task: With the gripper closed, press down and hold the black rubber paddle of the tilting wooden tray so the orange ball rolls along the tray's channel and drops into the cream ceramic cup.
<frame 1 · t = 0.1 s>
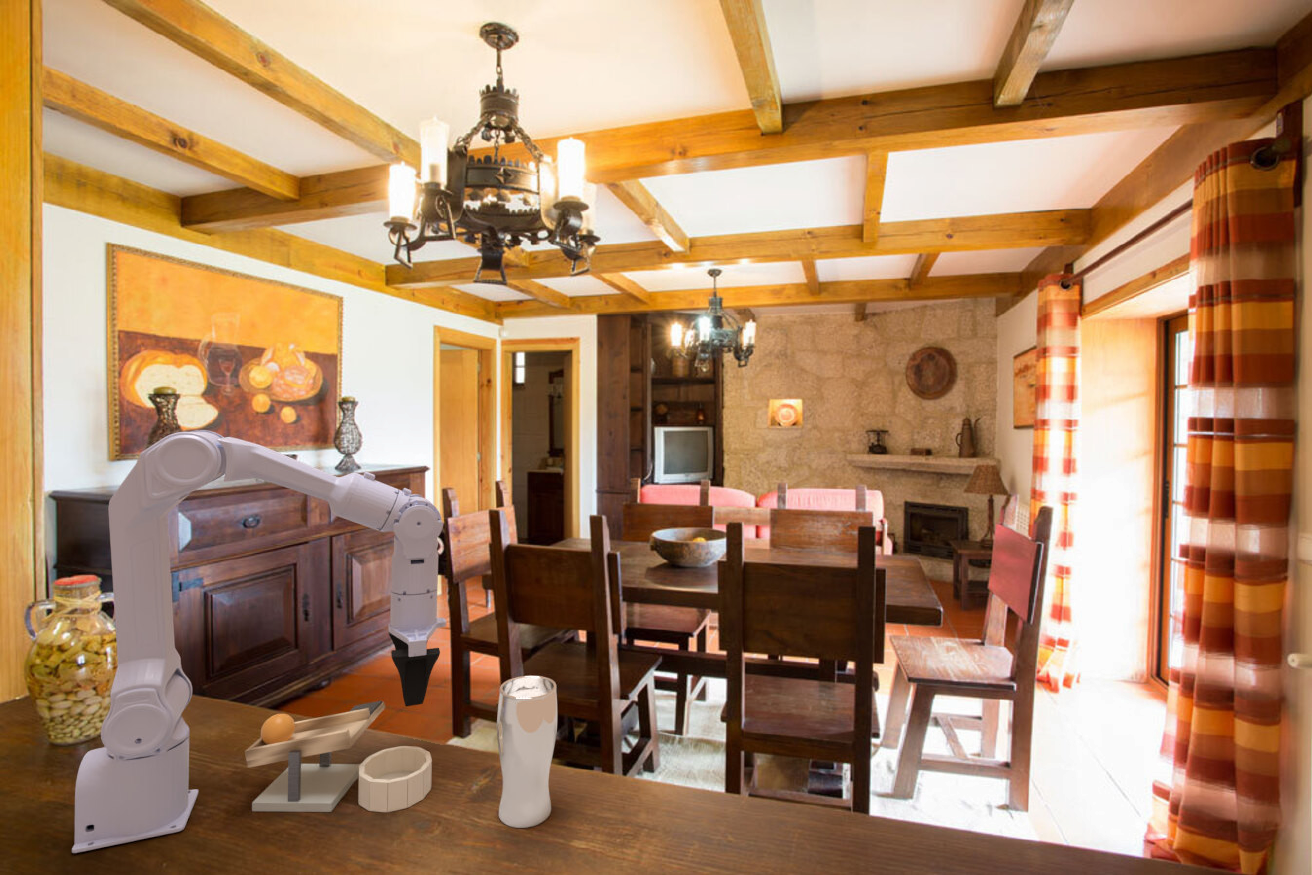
hand: (411, 691, 83), 10 cm above the table, tool pointing down, fingers open, 7 cm apart
beer glass: (525, 813, 74), on the table
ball: (278, 729, 77), point 7 cm above the table, tilted 9°, touching tilting wooden tray
tilting wooden tray: (319, 727, 79), point 7 cm above the table, hinge at -12.0°, touching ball
cup: (395, 791, 78), on the table
lever stand: (310, 790, 77), on the table
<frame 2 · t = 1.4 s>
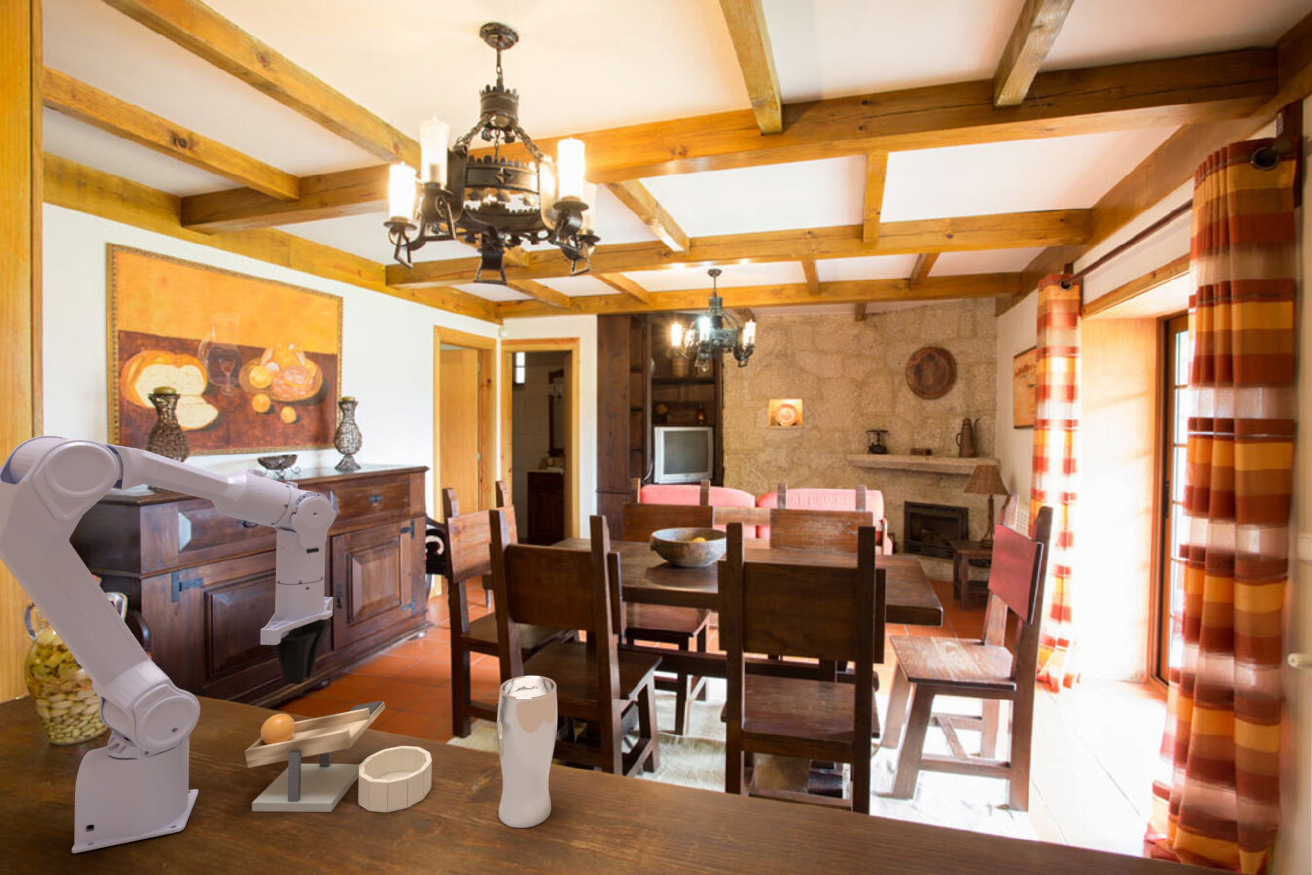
hand: (298, 679, 85), 10 cm above the table, tool pointing down, fingers closed
nothing on the table moved.
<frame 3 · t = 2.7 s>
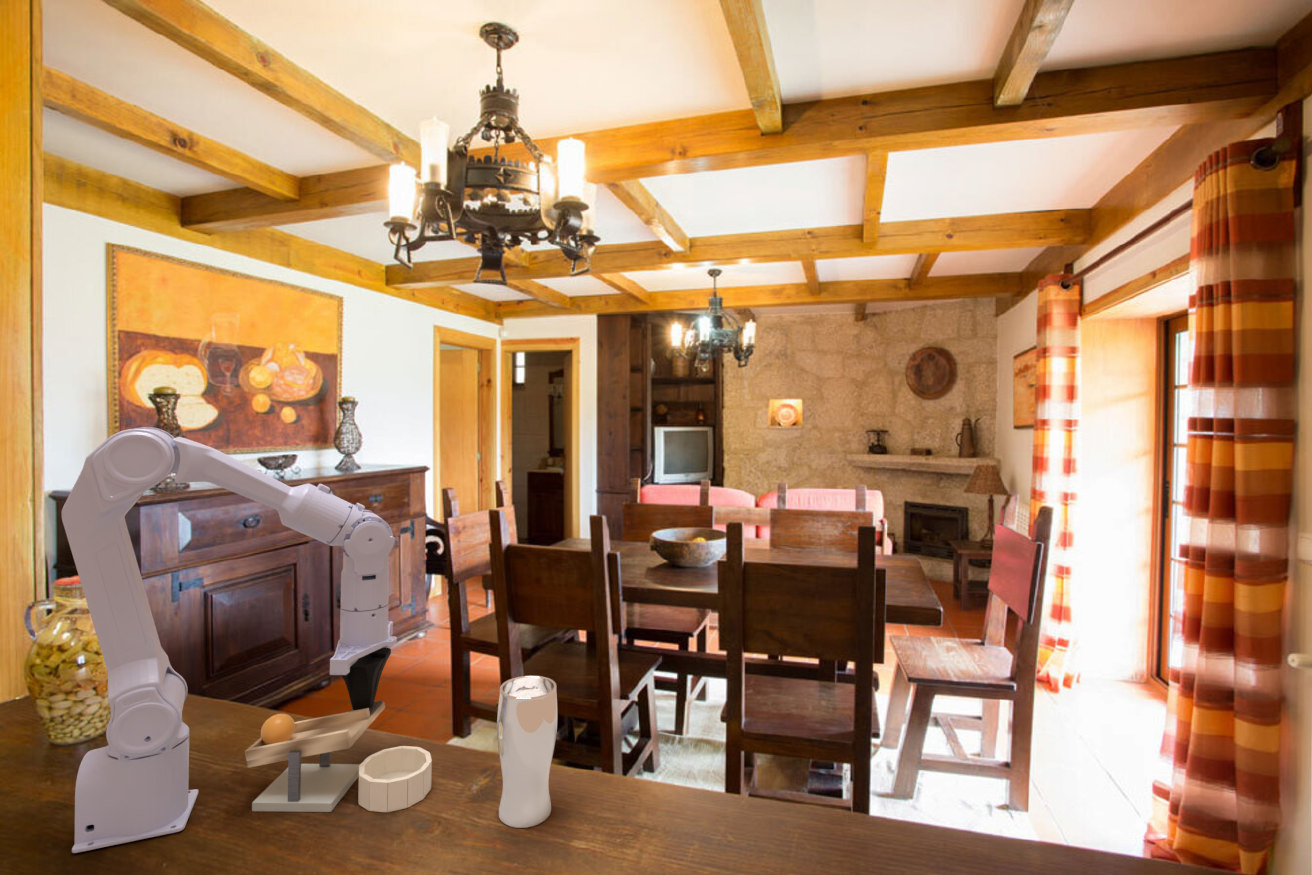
hand: (362, 707, 83), 8 cm above the table, tool pointing down, fingers closed, pressing on tilting wooden tray
tilting wooden tray: (319, 727, 79), point 7 cm above the table, hinge at -12.0°, touching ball, gripper
everything else where it was.
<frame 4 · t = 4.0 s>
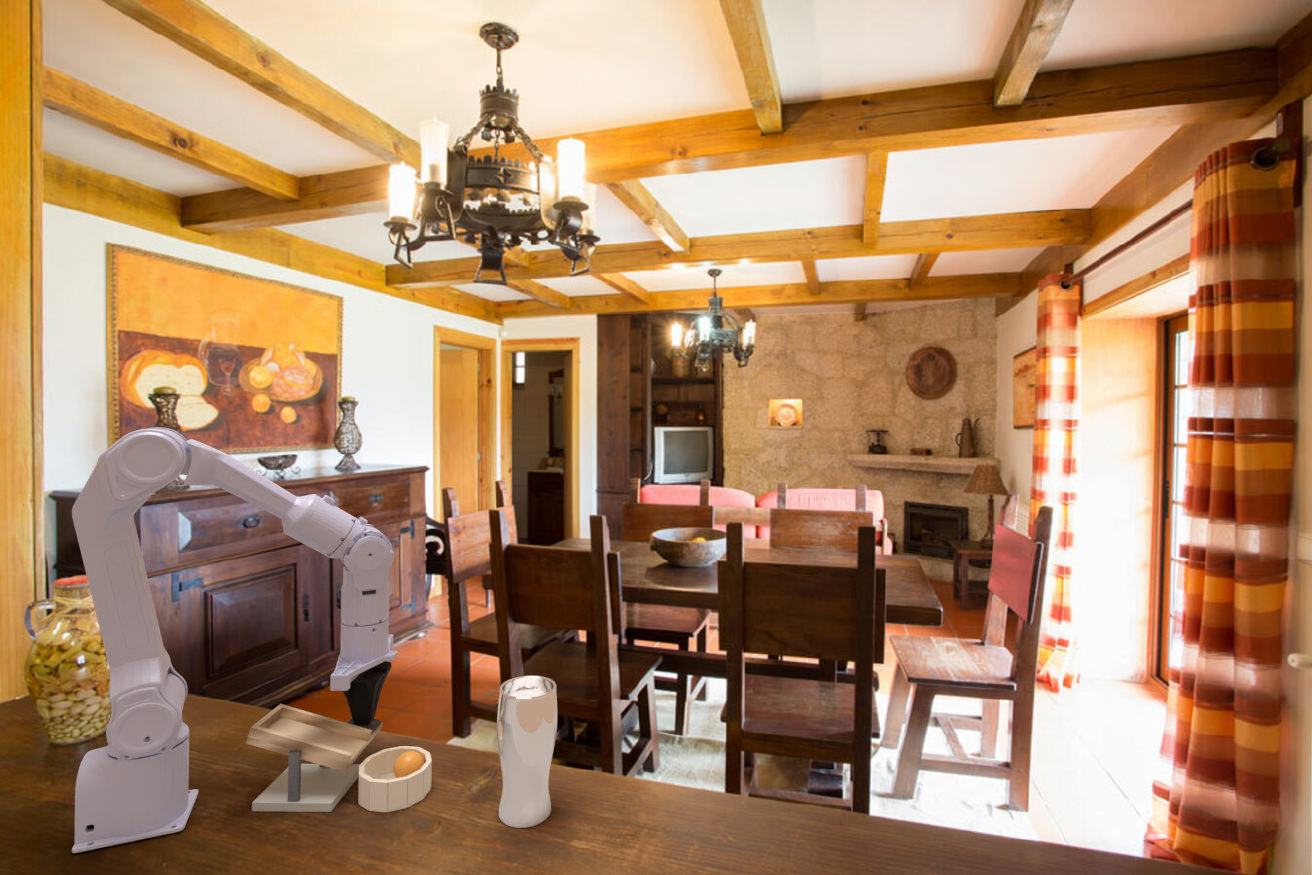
hand: (363, 722, 83), 6 cm above the table, tool pointing down, fingers closed, pressing on tilting wooden tray
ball: (408, 766, 79), point 2 cm above the table, tilted 141°, touching cup
tilting wooden tray: (320, 727, 79), point 7 cm above the table, hinge at 15.7°, touching gripper
everything else where it was.
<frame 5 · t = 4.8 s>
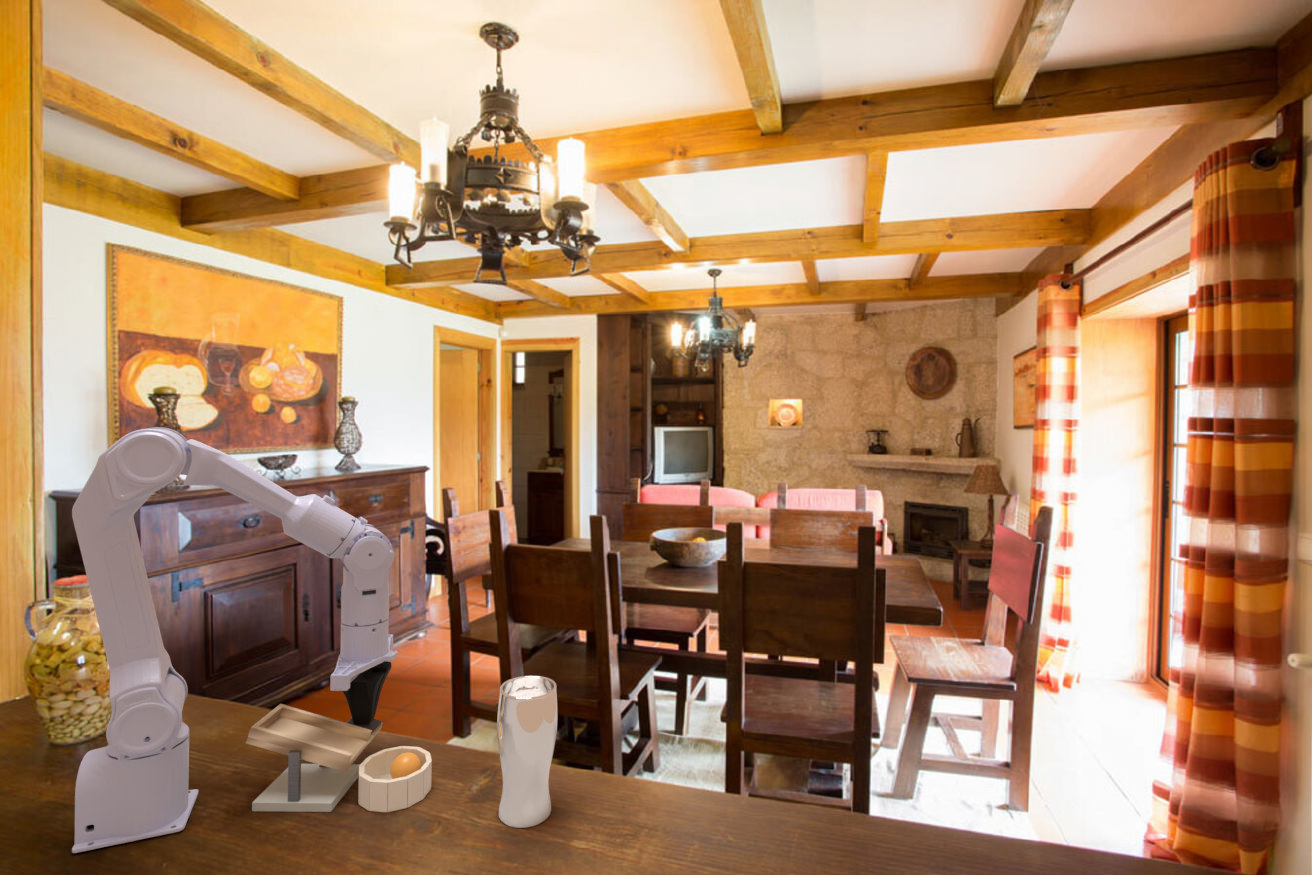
hand: (363, 722, 83), 6 cm above the table, tool pointing down, fingers closed, pressing on tilting wooden tray
tilting wooden tray: (320, 727, 79), point 7 cm above the table, hinge at 15.8°, touching gripper
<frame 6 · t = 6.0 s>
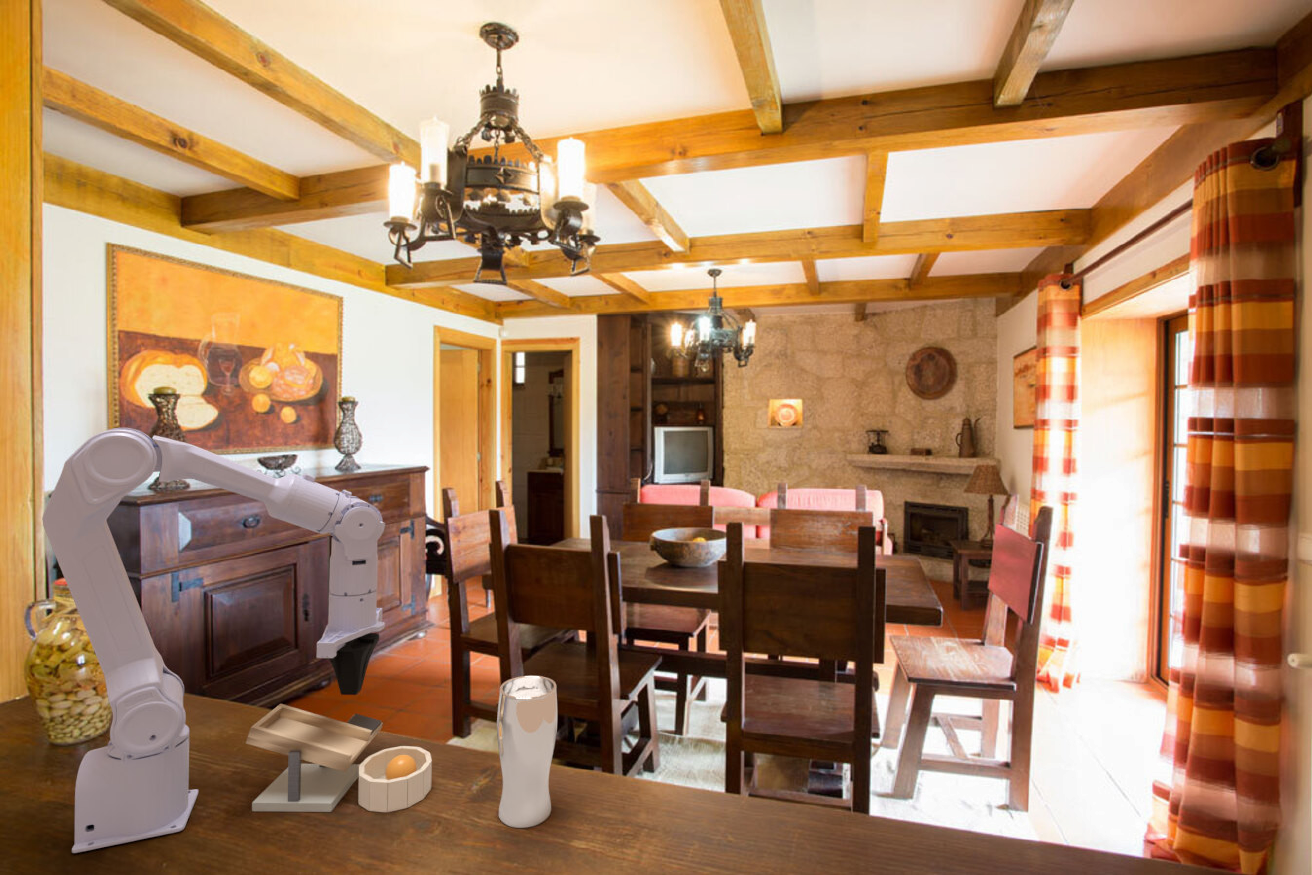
hand: (350, 692, 83), 10 cm above the table, tool pointing down, fingers closed
tilting wooden tray: (320, 727, 79), point 7 cm above the table, hinge at 15.8°
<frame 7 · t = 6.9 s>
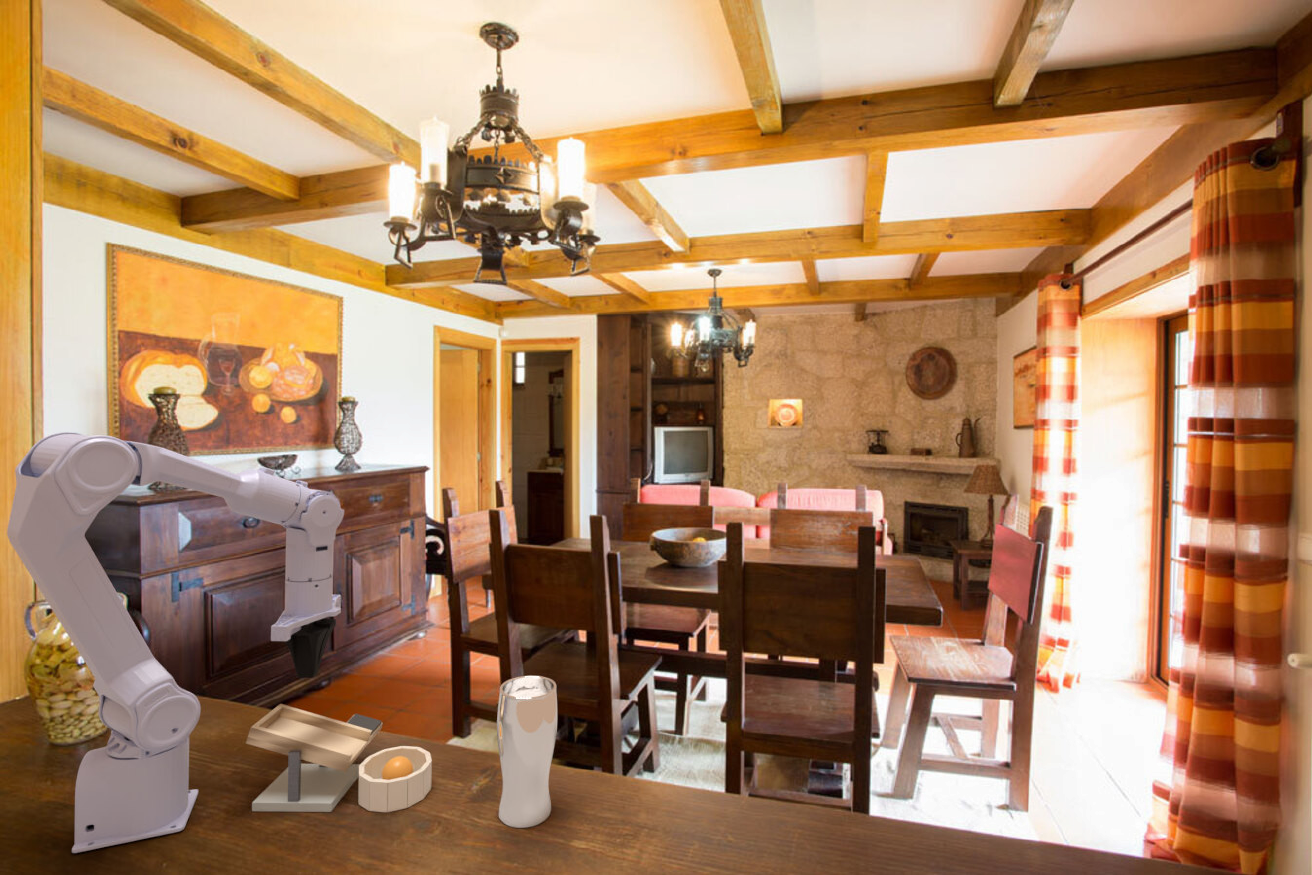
hand: (307, 675, 86), 10 cm above the table, tool pointing down, fingers closed
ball: (397, 772, 78), point 2 cm above the table, tilted 131°, touching cup
everything else where it was.
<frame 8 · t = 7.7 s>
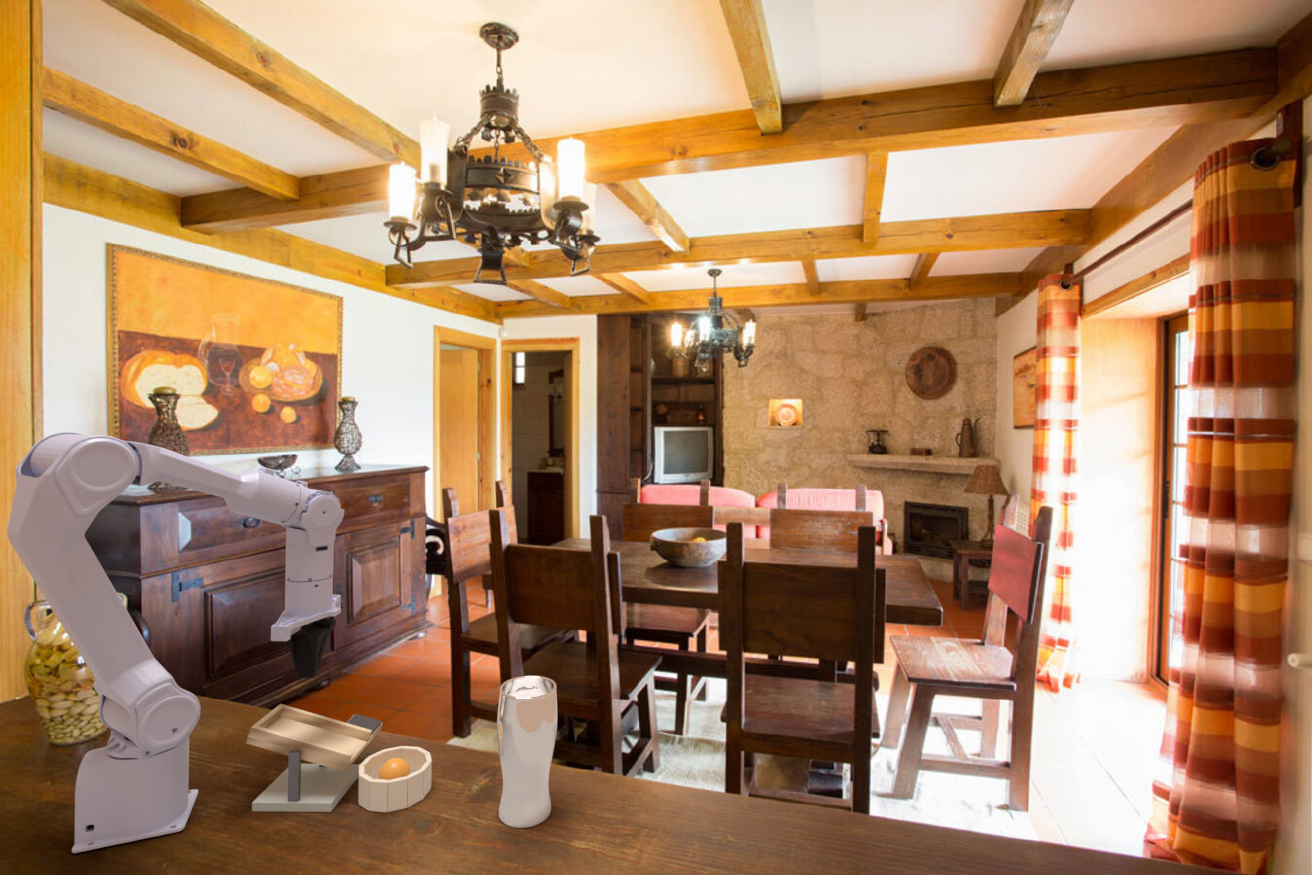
hand: (307, 675, 86), 10 cm above the table, tool pointing down, fingers closed
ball: (394, 774, 77), point 2 cm above the table, tilted 121°, touching cup
everything else where it was.
at the end: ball 0.4 cm off-centre on the cup, point 2.4 cm above the cup's base; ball moved 14.9 cm from its start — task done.
